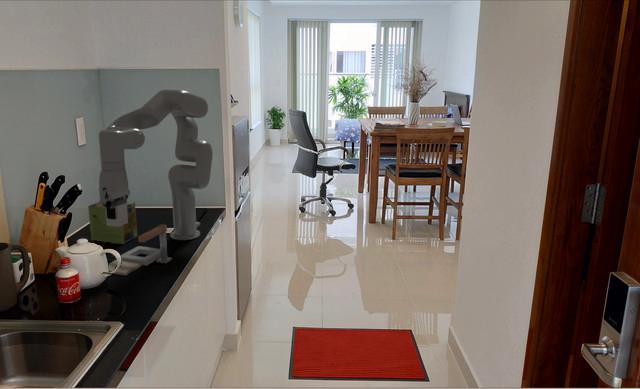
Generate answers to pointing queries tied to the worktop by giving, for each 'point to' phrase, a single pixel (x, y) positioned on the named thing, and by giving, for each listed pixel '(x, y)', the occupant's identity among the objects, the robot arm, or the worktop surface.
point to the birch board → (124, 267)
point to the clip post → (163, 249)
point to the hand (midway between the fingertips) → (116, 216)
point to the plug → (119, 213)
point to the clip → (152, 233)
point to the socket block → (132, 257)
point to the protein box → (111, 233)
